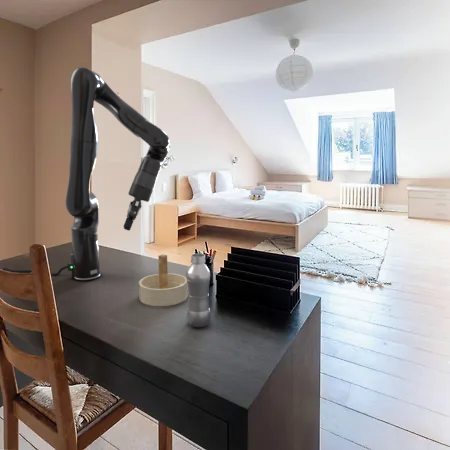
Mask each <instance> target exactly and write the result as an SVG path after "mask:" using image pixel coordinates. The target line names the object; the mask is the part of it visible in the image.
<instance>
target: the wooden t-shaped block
mask: <svg viewBox="0 0 450 450" xmlns="http://www.w3.org/2000/svg"><path fill="white" fill-rule="evenodd" d="M168 273H169V272H168V255H167V254H163V253H162V254H160V255H158V274H159V289H167V288H168Z"/></svg>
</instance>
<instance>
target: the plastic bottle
mask: <svg viewBox="0 0 450 450" xmlns="http://www.w3.org/2000/svg"><path fill="white" fill-rule="evenodd" d="M190 263H191V265H190V266H188V268H187V270H186V273H185V277H186V278H187V284H188V302H187V303H188V304H187V311H186V320H187V323H188V324H189V326H191V327H193V328H204V327H207V326H209V324H210V323H211V318H212V312H211V308H210V299H209V296H210V295H209V292H210V290H209V289H210V281H211V271H210V268H208V266H207V264H206V254H204V253H192V254H191V257H190Z"/></svg>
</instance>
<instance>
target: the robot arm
mask: <svg viewBox="0 0 450 450" xmlns="http://www.w3.org/2000/svg"><path fill="white" fill-rule="evenodd" d="M70 94H71V95H70V96H71V123H70V124H71V125H70V138H69V139H70V141H69V166H68V167H69V171H68V183H67V189H66V195H65V209H66V211H67V212H68V213H69V215H70V216H72V217H73V223H72V225H71V227H70V236H71V248H72V253H70V262H68V263H67V265H65V266H62V267H60V268H59V269H58V271H57V272H50V273H51V275H50V276H58V275H60V274H61V273H62V271H64V270H65V269H67V271H68V272H71V279H73V280H76V281H78V282H79V281H80V282H81V281H82V282H85V281H93V280H96V279H98V278H100V277H101V270H100V269H101V268H100V267H101V266H100V250H99V235H98V227H99V223H100V222H99V221H100V220H99V219H100V217H99V216H100V215H99V202H98V198H97V196H96V195H95V193H94V192H92V191H90V189H91V187H90V185H91V177H92V174H93V171H94V169H95V165H96V162H97V160H98V159H97V158H98V154H99V153H98V152H99V133H98V129H97V125H96V121H95V116H94V106H95V105H94V104H95V102H96V103H97V104H99V105H101V106H102V107H103V108H105V109H106V110H107V111H108V112H110V114H112V115H113V116H114V118H115V119H116V120H117V121H118V122H119V123H120V124H121V125H122V126H123V127H124V128H125V129H127V130H128V131H129V132H130V133H131V134H133V135H134V136H136V137H137V138H140V139H141V140H142V141H144V142H145V143H146V144H147V145H148V146H149V147H148V150H147V151H146V154H145V156H144V157H143V158H142V160H141V162H140V164H139V167H138V169H137V172H136V174H135V175H134V178H133V180H132V183H131V185H130V187H129V191H128V195H129V196H131V197H133V200H132V201H129V205H128V209H127V214H126V219H125V221H124V224H123V229H124V230H125V231H131V229H132V226H133V224H134V221H135V220H136V219H137V217H138V216H139V214H140V213H139V212H140V210H141V209H142V207H143V206H142V201H143V202H146V203H147V202H150V200H151V197H152V195H153V193H154V189H155V186H156V184H157V180H158V177H159V174H160V173H161V169H162V165H163V163H164V161H165V160H166V158H167V156H168V153H169V151H170V149H171V140H170V137H169V136H168V134H167V133H166V132H165V131H164V130H162V128H161V127H158V126H157V125H156V124H154V123H152V122H150V121H149V119H147V118H146V117H145V116H144V115H143V114H141V113H140V112H139V111H138V110H137V109H135V108H133V106H131V105H130V104H129V103H127V102H126V101H125V100H123V99H122V98H121V97H120V96H119V95H118V94H116V92H115V91H114V90H113V89H112V88H111V87H110V86H109V85H108V84H107V83H106V81H105V80H104V79H103V78H102V76H101V75H100V74H99V73H97V72H96V71H94V70H92V69H91V68H88V67H85V66H80V67H77V68H76V69H74V71H73V72H72V73H71V77H70ZM1 269H3V271H8V272H10V271H11V272H12V273H32V272H31V270H32V269H13V268H9V267H2V268H1ZM11 272H10V273H11Z"/></svg>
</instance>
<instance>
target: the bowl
mask: <svg viewBox="0 0 450 450" xmlns="http://www.w3.org/2000/svg"><path fill="white" fill-rule="evenodd" d="M138 298H139V299H138V300H139V301H140V302H141V303H142V304H144V305H146V306H150V307H170V306H175V305H178V304H181V303H183V302H184V301H186V300H187V299H188V298H189V293H188V284H187V278H186V275H182V274H180V273H179V274H178V273H171V272H168V288H167V289H159V273H154V274H150V275H146V276H144V277H142V278H141V279H140V280H139V281H138Z"/></svg>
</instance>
